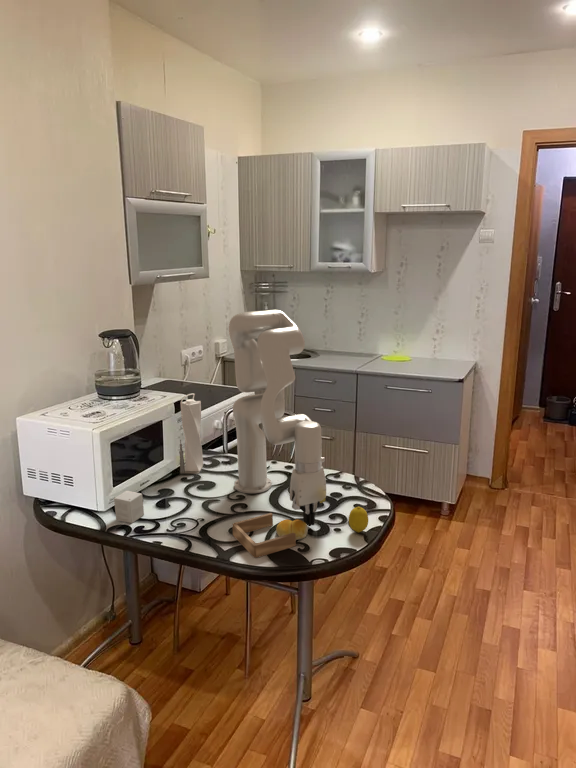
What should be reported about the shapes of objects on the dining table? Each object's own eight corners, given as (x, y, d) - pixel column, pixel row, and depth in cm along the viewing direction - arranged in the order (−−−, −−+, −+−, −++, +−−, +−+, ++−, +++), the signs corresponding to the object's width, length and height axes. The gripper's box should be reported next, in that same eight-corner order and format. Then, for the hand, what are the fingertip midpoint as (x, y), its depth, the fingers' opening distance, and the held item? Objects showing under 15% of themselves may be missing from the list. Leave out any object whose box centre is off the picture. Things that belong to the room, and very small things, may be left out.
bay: (232, 534, 168) (231, 523, 167) (271, 523, 174) (271, 512, 173) (254, 558, 156) (254, 546, 155) (295, 545, 162) (295, 533, 161)
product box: (144, 515, 181) (142, 493, 179) (131, 524, 175) (129, 501, 174) (128, 511, 183) (126, 490, 181) (115, 520, 178) (113, 498, 176)
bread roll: (278, 526, 173) (278, 513, 172) (309, 528, 171) (308, 515, 170) (273, 540, 165) (273, 527, 164) (305, 542, 163) (305, 529, 162)
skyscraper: (185, 464, 220) (181, 392, 213) (207, 465, 219) (203, 392, 212) (179, 473, 212) (174, 399, 205) (201, 474, 211) (197, 399, 204)
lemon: (366, 527, 171) (366, 502, 169) (369, 537, 166) (370, 511, 164) (347, 528, 171) (347, 502, 169) (350, 537, 165) (350, 511, 163)
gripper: (323, 455, 174) (323, 512, 178) (278, 466, 166) (280, 525, 171) (337, 463, 167) (337, 522, 172) (292, 475, 160) (293, 536, 165)
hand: (309, 523), depth 171 cm, fingers closed
